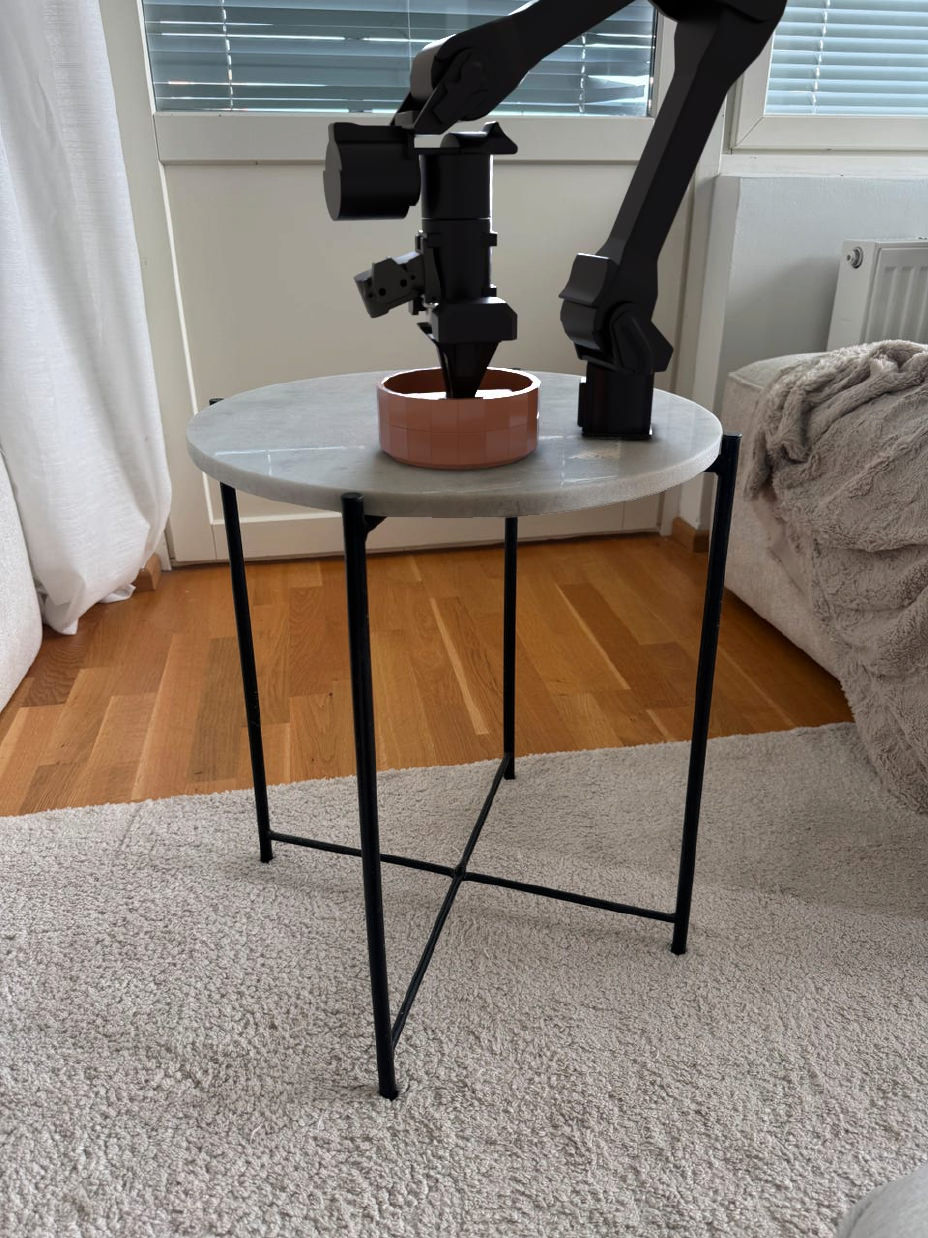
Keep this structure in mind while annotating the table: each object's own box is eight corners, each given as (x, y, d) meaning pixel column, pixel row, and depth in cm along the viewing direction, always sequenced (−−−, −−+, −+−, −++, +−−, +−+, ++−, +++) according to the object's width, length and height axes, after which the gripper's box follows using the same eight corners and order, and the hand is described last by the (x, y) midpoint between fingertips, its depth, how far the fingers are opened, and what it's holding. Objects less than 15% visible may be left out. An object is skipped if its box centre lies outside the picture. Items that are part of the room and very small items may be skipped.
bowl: (543, 431, 88) (545, 367, 85) (530, 475, 75) (532, 402, 73) (399, 426, 90) (396, 364, 87) (362, 468, 77) (358, 397, 75)
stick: (509, 415, 83) (509, 388, 82) (515, 421, 81) (516, 394, 80) (400, 421, 82) (399, 394, 81) (404, 428, 80) (403, 400, 79)
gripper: (348, 215, 81) (359, 392, 88) (367, 225, 65) (378, 442, 72) (471, 213, 83) (472, 387, 90) (520, 223, 66) (517, 435, 73)
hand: (458, 410), depth 81 cm, fingers closed on stick, 2 cm apart
